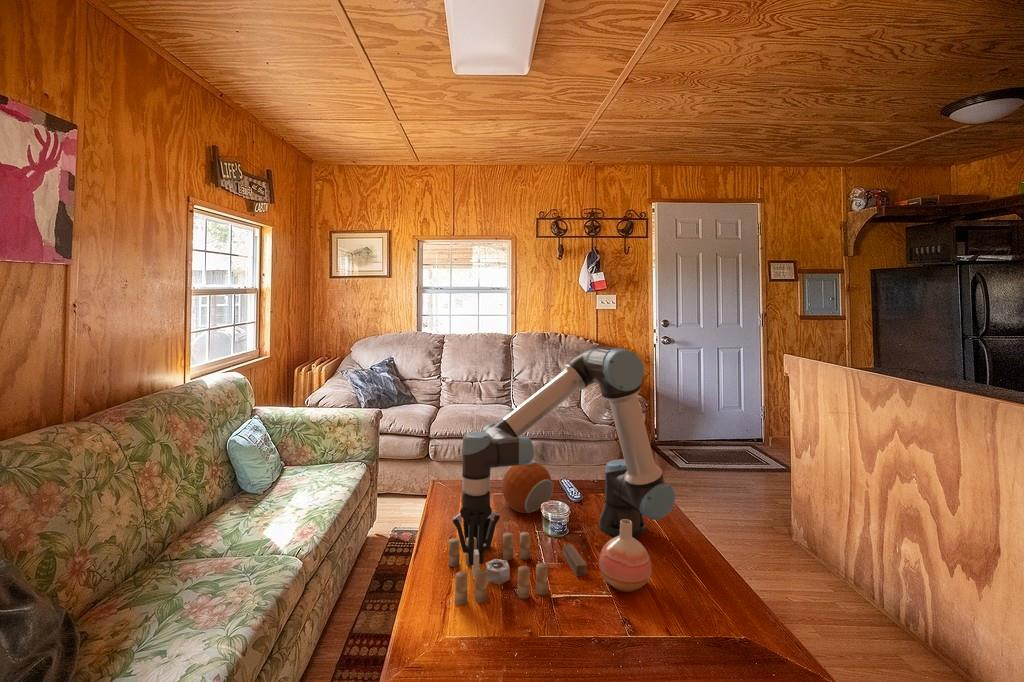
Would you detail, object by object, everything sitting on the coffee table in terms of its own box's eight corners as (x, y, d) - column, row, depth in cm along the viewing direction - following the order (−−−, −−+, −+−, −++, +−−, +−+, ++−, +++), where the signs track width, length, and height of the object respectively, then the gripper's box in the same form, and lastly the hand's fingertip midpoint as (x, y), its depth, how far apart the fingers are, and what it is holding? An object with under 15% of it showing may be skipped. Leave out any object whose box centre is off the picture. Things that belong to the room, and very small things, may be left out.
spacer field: (527, 553, 145) (528, 530, 144) (549, 595, 123) (549, 569, 123) (448, 561, 139) (448, 538, 139) (456, 607, 118) (456, 579, 118)
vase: (652, 576, 133) (654, 514, 132) (649, 605, 120) (651, 537, 119) (602, 567, 137) (604, 507, 136) (594, 594, 124) (596, 528, 123)
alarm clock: (528, 492, 193) (529, 450, 191) (561, 506, 180) (562, 461, 179) (492, 505, 180) (492, 460, 179) (524, 521, 167) (525, 472, 166)
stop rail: (571, 553, 145) (572, 544, 145) (586, 575, 133) (586, 564, 133) (562, 554, 144) (562, 545, 144) (576, 576, 132) (576, 566, 132)
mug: (496, 549, 147) (496, 517, 146) (468, 555, 143) (468, 522, 142) (482, 532, 158) (482, 502, 157) (456, 537, 154) (456, 506, 153)
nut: (505, 569, 136) (505, 557, 135) (510, 583, 129) (510, 570, 129) (484, 571, 134) (484, 559, 134) (488, 585, 127) (488, 572, 127)
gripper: (497, 483, 134) (496, 565, 135) (450, 487, 131) (450, 570, 132) (502, 494, 126) (501, 580, 128) (453, 497, 123) (452, 585, 125)
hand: (475, 575), depth 130 cm, fingers closed
